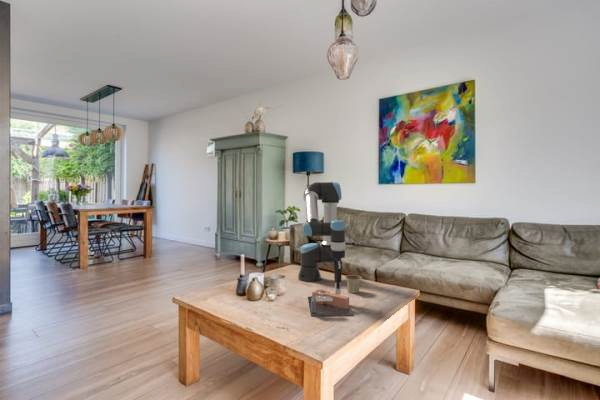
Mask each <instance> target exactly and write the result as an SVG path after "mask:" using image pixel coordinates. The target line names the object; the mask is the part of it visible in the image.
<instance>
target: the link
mask: <svg viewBox="0 0 600 400" xmlns="http://www.w3.org/2000/svg"><path fill="white" fill-rule="evenodd" d="M319 291H320V288H319V289H316V290H315V291H312V295H311V296H332V297H333V301H316V303H319V304H324V303H325V304H329V305H332V306H336V307H340V308H344V309H347V308H349V307H350V297H349V296H346V295H345V296H344V295H337V294H335V293H332V292H330V291H329V290H325V289H322V291H323V294H321V293H319Z"/></svg>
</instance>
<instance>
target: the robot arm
mask: <svg viewBox="0 0 600 400" xmlns="http://www.w3.org/2000/svg"><path fill="white" fill-rule="evenodd" d="M341 200H342V188H341V185H340V183H339V182H334V181H329V182H328V181H327V182H320V181H317V182H313V183H311V184H310V185H308V186H307V187H306V188H305V190H304V192H303V202H305V203H304V205H305V222H303V223H302V235H303V236H304V237H305V236H306V237H323V240H322V242H321V244H320V245H319V244H318V243H316V242H315V243H314V242H310V243H305V244H303V245H302V246H301V247H300V269H299V272H298V274H297V275H298V276H297V279H298V280H299V281H302V282H310V283H311V282H317V281H320V280H321V277H322V275H321V272H320V268H319V264H333V269H334V270H333V272H334V273H333V275H334V277H333V278H334V294H337V295H341V293H342V292H341V290H342V289H341V286H342V285H341V283H342V277H343V276H342V275H343V274H342V273H343V261H342V259H344V258H345V257H346V222H345V221H344V220H341V219H340V220H339V219H337V217H338V216H337V215H338V212H337V211H338V210H337V209H338V204H339V203H340V201H341ZM318 201H321V204H322V205H323V222H320V218H319V217H320V216H319V207H318V206H319V205H318ZM341 296H342V295H341Z"/></svg>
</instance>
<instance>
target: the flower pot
mask: <svg viewBox="0 0 600 400" xmlns="http://www.w3.org/2000/svg"><path fill="white" fill-rule="evenodd" d="M362 278H363V277H362V276H360V275H356V274H350V275H346V276H345V280H346V283H347V284H346V285H347V292H349V294H359V292H360V286H361V281H362Z"/></svg>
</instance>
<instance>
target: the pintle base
mask: <svg viewBox="0 0 600 400" xmlns="http://www.w3.org/2000/svg"><path fill="white" fill-rule="evenodd" d="M319 289H320V288H319ZM322 290H323V289H322V288H321V289H320V291H319V293H321V294H323V291H322ZM316 301H333V297H332V296H312V295H311V296H307V302H308V306H309V307H308V309H309V314H310V317H340V316H341V317H342V316H344V317H345V316H346V317H347V316H348V317H350V316H351V317H352V316H353V315H354V313H353V312H352V309H351V306H349V308H347V309H344V308H340V307H336V306H332V305H329V304H325V303H324V304H319V303H316Z"/></svg>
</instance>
